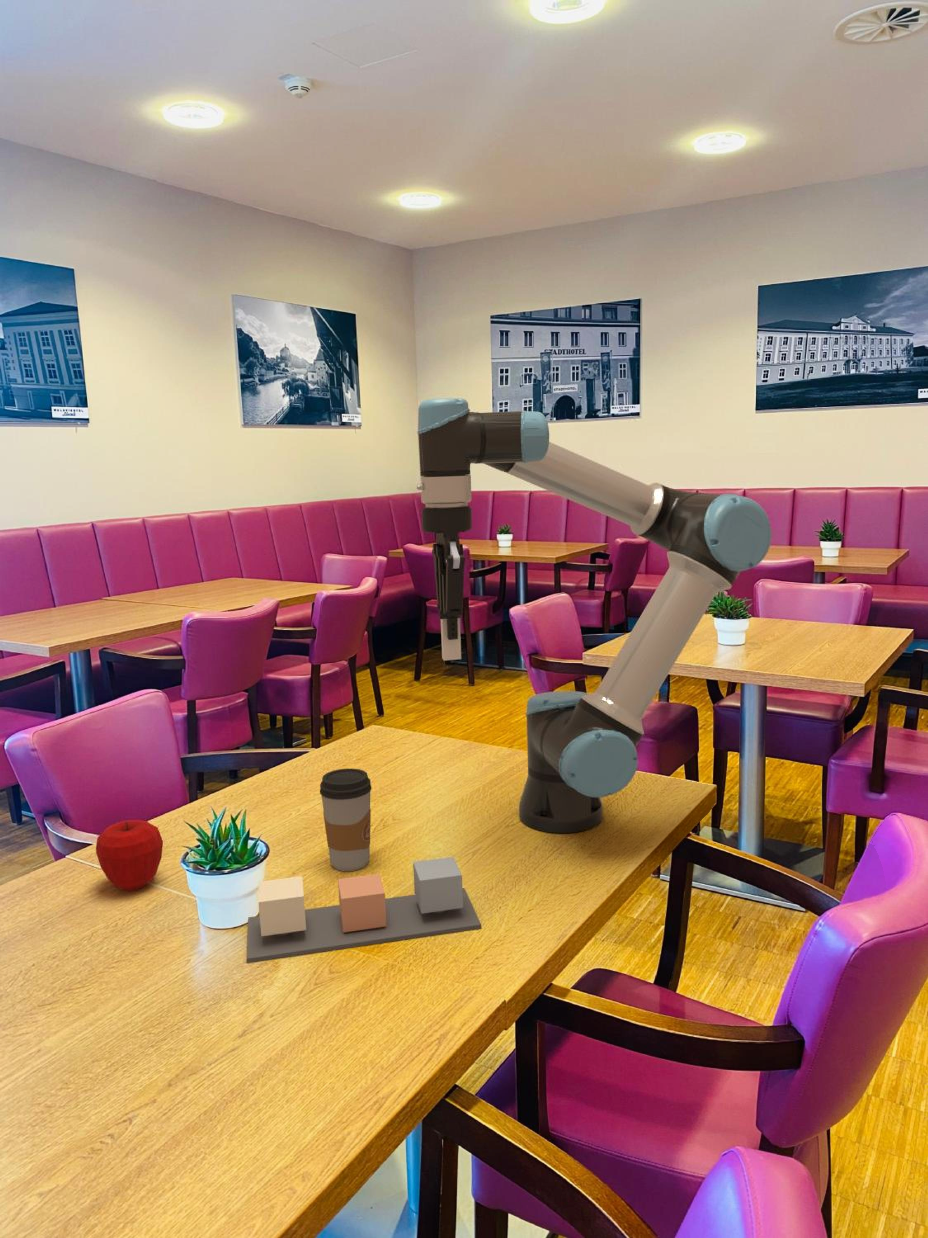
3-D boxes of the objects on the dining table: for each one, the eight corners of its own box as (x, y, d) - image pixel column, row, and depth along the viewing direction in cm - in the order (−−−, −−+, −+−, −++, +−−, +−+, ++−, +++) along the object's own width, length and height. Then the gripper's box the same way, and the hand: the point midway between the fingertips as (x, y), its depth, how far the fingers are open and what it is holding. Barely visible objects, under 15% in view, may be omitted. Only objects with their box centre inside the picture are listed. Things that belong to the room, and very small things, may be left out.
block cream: (304, 908, 126) (302, 876, 125) (306, 930, 120) (303, 896, 119) (261, 914, 125) (258, 881, 124) (261, 936, 119) (258, 902, 118)
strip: (464, 891, 134) (463, 879, 134) (481, 928, 123) (480, 915, 123) (248, 921, 127) (247, 908, 127) (246, 963, 117) (245, 949, 116)
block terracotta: (381, 905, 129) (379, 873, 128) (386, 926, 123) (384, 893, 122) (339, 911, 127) (337, 879, 127) (343, 932, 122) (341, 899, 121)
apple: (179, 877, 142) (172, 813, 140) (134, 905, 133) (127, 837, 131) (133, 866, 146) (126, 804, 144) (86, 893, 137) (79, 828, 135)
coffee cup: (366, 876, 140) (361, 787, 137) (316, 873, 141) (311, 784, 139) (381, 853, 148) (377, 768, 145) (334, 850, 149) (329, 766, 147)
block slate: (454, 888, 131) (453, 856, 130) (463, 907, 125) (462, 875, 124) (414, 893, 129) (413, 862, 129) (421, 913, 124) (419, 880, 123)
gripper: (414, 504, 137) (420, 651, 141) (429, 508, 125) (435, 670, 129) (461, 502, 139) (466, 648, 143) (480, 506, 126) (485, 666, 131)
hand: (451, 658), depth 136 cm, fingers closed
